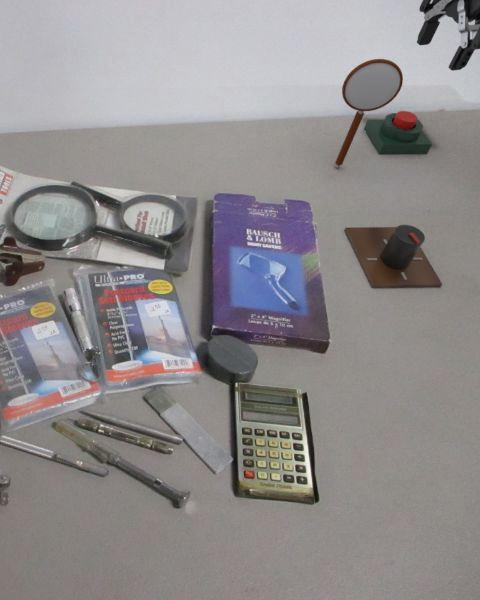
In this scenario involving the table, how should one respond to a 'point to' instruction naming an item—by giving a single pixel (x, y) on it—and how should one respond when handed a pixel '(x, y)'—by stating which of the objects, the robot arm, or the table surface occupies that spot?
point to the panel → (379, 274)
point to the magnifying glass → (368, 93)
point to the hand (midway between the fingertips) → (438, 56)
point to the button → (405, 120)
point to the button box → (397, 137)
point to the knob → (402, 246)
